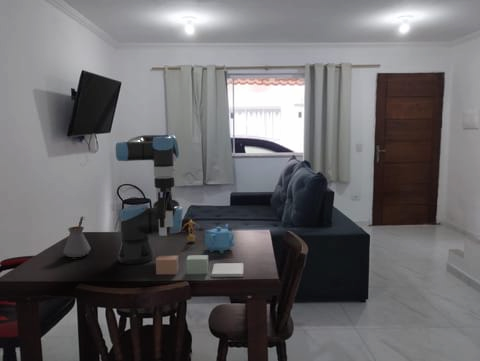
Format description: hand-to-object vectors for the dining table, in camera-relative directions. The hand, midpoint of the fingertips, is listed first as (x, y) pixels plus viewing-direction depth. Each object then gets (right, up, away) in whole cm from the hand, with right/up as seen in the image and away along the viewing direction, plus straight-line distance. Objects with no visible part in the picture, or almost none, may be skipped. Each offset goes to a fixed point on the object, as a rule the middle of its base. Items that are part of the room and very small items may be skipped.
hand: (166, 231), depth 161 cm
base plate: (+24, -16, +2) cm, 29 cm away
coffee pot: (-45, -14, +30) cm, 56 cm away
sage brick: (+12, -16, +2) cm, 21 cm away
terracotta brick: (0, -17, +2) cm, 17 cm away
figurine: (+5, -11, +43) cm, 44 cm away
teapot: (+20, -13, +31) cm, 38 cm away
